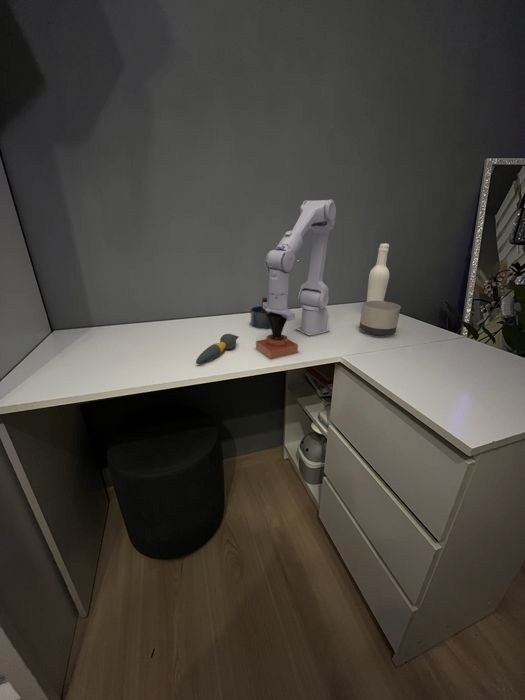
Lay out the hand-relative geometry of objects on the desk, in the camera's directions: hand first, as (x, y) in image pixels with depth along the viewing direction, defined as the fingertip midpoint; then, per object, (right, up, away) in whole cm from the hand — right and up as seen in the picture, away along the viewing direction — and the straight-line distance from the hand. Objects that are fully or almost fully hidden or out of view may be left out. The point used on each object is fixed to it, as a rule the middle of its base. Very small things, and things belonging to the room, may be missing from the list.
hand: (276, 336), depth 93 cm
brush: (-4, +6, +26) cm, 27 cm away
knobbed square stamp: (0, -5, +2) cm, 5 cm away
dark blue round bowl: (-4, +6, +26) cm, 27 cm away
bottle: (+44, +10, +37) cm, 58 cm away
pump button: (0, -2, +1) cm, 2 cm away
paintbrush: (-18, -6, -1) cm, 19 cm away
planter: (+38, +2, +18) cm, 42 cm away
